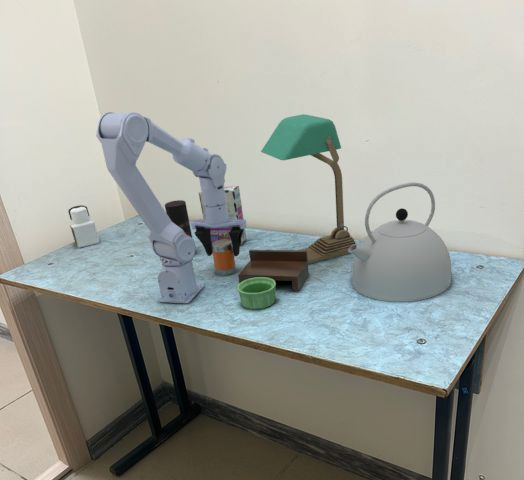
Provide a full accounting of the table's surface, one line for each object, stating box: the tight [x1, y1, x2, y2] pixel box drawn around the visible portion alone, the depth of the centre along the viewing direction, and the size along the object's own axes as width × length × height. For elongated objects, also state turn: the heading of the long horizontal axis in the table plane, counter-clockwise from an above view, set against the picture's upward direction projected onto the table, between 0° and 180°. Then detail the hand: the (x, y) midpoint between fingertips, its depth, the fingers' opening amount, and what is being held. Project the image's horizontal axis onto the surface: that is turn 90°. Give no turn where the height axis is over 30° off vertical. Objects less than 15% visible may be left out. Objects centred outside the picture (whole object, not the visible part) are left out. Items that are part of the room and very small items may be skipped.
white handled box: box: [67, 204, 101, 249], centre depth 177 cm, size 7×7×12 cm
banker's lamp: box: [260, 113, 357, 265], centre depth 139 cm, size 16×21×35 cm
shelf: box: [237, 249, 310, 293], centre depth 134 cm, size 10×15×6 cm, turn 71°
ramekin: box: [236, 277, 277, 310], centre depth 126 cm, size 9×9×4 cm
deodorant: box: [164, 199, 193, 239], centre depth 157 cm, size 6×6×15 cm
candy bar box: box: [198, 185, 247, 246], centre depth 160 cm, size 11×5×16 cm, turn 73°
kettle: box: [348, 181, 452, 303], centre depth 122 cm, size 25×23×22 cm
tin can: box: [211, 240, 237, 277], centre depth 143 cm, size 6×6×8 cm
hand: (223, 254), depth 143 cm, fingers open, 7 cm apart
